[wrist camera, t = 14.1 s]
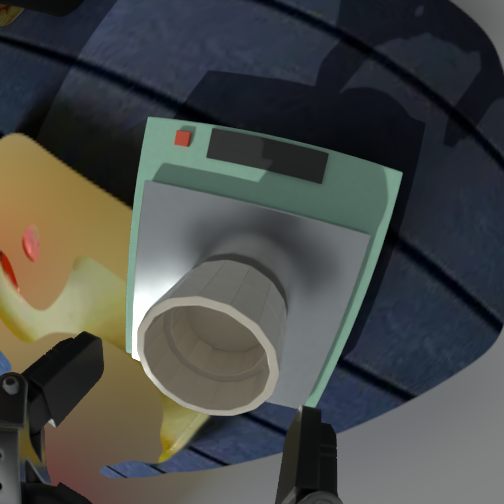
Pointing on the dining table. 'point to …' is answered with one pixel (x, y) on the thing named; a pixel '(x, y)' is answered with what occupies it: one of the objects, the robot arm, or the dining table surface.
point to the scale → (271, 193)
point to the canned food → (9, 14)
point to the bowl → (215, 339)
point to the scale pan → (257, 256)
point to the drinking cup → (45, 5)
